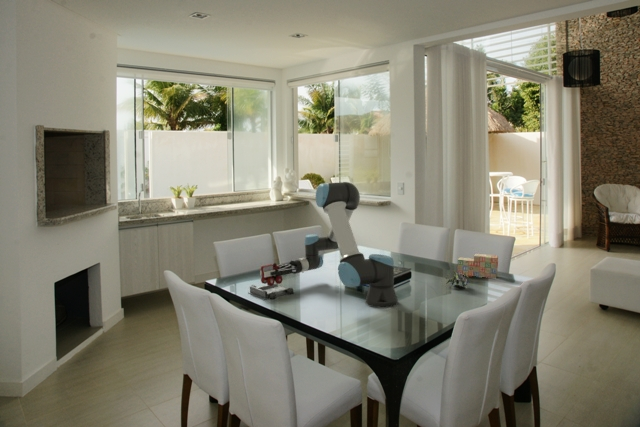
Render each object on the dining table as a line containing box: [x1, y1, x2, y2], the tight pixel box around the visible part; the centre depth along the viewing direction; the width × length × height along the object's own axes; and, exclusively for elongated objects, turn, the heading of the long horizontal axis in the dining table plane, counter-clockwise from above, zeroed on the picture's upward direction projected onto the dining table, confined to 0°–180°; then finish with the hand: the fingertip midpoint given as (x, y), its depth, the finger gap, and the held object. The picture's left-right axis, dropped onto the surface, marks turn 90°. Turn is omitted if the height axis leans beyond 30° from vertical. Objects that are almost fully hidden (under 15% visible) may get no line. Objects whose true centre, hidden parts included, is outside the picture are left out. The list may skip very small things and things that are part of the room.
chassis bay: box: [248, 282, 294, 300], centre depth 244 cm, size 20×18×4 cm
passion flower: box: [445, 269, 470, 290], centre depth 245 cm, size 11×11×12 cm
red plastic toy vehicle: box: [260, 262, 283, 286], centre depth 244 cm, size 7×12×10 cm, turn 132°
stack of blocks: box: [457, 253, 499, 279], centre depth 267 cm, size 21×6×12 cm, turn 63°
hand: (262, 274), depth 240 cm, fingers closed on red plastic toy vehicle, 3 cm apart
